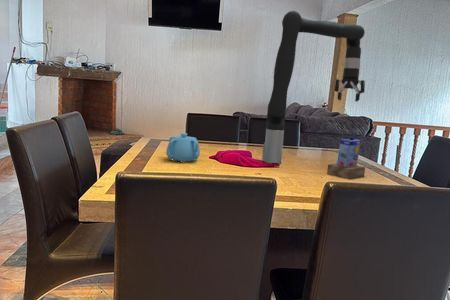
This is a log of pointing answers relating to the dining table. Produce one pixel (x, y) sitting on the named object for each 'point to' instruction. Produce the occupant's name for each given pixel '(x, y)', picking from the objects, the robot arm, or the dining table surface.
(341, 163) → the ink cartridge box
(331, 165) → the walnut block
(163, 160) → the dining table surface
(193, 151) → the decorative pot
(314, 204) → the dining table surface
